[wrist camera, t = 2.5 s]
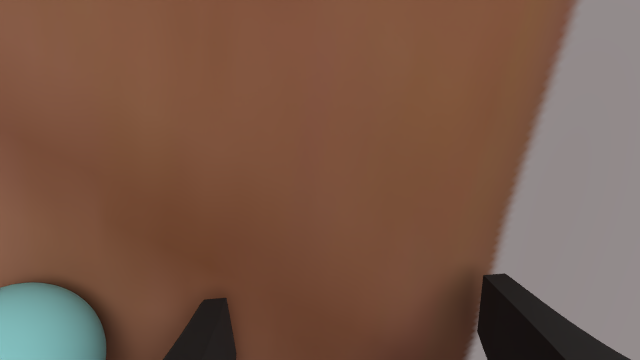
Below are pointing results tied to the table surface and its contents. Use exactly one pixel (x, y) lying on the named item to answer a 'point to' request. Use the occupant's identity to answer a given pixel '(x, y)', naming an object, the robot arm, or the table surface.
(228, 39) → the table surface
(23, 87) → the table surface
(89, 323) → the ball
